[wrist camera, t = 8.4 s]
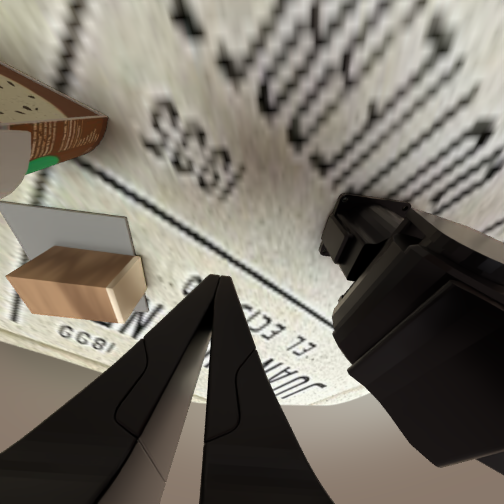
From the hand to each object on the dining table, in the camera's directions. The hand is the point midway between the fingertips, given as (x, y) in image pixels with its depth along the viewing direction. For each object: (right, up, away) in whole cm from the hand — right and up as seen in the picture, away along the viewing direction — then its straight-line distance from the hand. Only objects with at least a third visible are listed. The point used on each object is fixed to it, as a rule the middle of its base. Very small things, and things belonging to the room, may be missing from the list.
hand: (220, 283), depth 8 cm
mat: (-18, 0, +15) cm, 24 cm away
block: (-11, -3, +13) cm, 18 cm away
